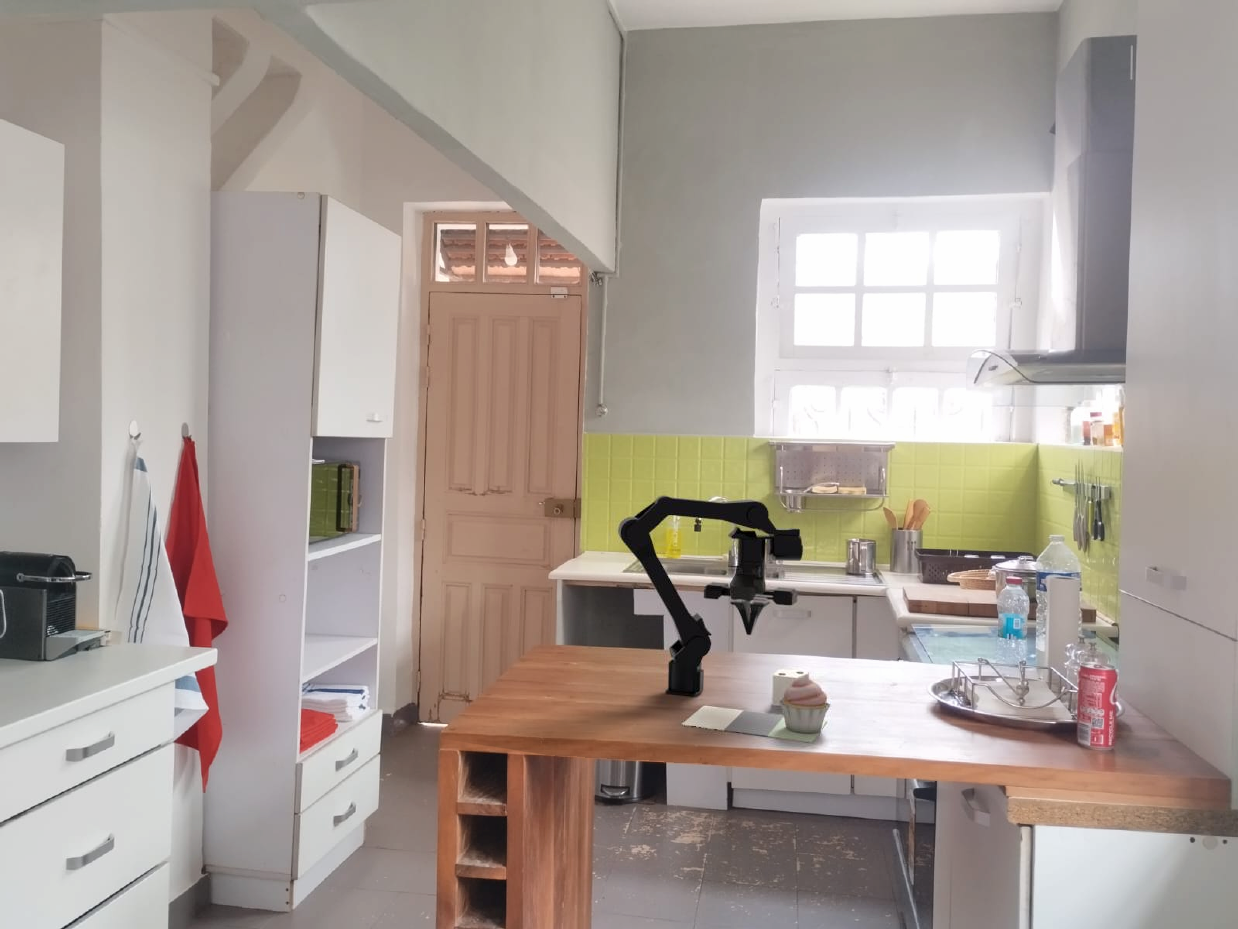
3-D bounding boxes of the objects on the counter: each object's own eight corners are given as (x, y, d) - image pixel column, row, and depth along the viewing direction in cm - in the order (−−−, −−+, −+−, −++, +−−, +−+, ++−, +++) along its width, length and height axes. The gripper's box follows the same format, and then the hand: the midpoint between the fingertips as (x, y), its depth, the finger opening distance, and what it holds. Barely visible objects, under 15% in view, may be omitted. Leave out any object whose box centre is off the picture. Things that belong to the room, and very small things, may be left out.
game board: (681, 725, 179) (681, 724, 179) (704, 706, 192) (704, 705, 192) (812, 743, 170) (812, 741, 170) (826, 722, 183) (826, 721, 183)
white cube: (772, 705, 194) (773, 674, 194) (778, 698, 200) (779, 668, 199) (802, 709, 192) (803, 678, 192) (808, 701, 197) (809, 671, 197)
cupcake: (831, 738, 172) (833, 682, 172) (777, 734, 174) (779, 678, 174) (829, 723, 181) (830, 670, 181) (778, 719, 183) (779, 667, 183)
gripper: (696, 561, 199) (694, 637, 200) (787, 567, 192) (785, 646, 193) (712, 555, 210) (710, 628, 210) (798, 561, 203) (796, 636, 203)
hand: (749, 634), depth 204 cm, fingers closed
